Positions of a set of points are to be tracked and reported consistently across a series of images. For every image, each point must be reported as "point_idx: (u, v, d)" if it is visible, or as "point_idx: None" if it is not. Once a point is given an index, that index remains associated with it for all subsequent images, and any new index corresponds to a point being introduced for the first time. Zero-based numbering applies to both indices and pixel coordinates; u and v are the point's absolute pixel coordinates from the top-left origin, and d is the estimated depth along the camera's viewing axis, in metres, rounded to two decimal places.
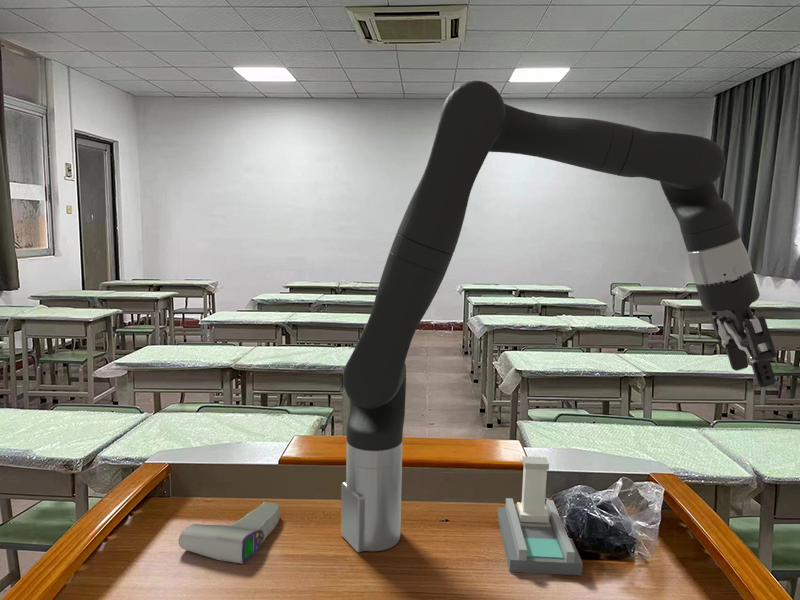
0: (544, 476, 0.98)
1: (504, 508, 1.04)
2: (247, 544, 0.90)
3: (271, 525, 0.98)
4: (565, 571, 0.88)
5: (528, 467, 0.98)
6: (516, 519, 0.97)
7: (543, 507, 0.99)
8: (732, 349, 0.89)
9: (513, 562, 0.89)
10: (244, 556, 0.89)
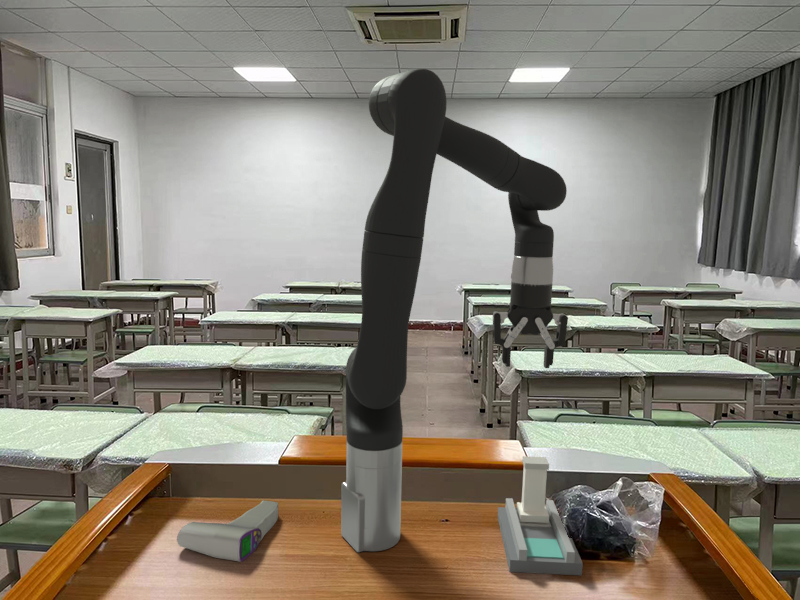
0: (544, 476, 0.98)
1: (504, 508, 1.04)
2: (245, 542, 0.91)
3: (269, 523, 0.99)
4: (565, 571, 0.88)
5: (528, 467, 0.98)
6: (516, 519, 0.97)
7: (543, 507, 0.99)
8: None
9: (513, 562, 0.89)
10: (241, 554, 0.90)
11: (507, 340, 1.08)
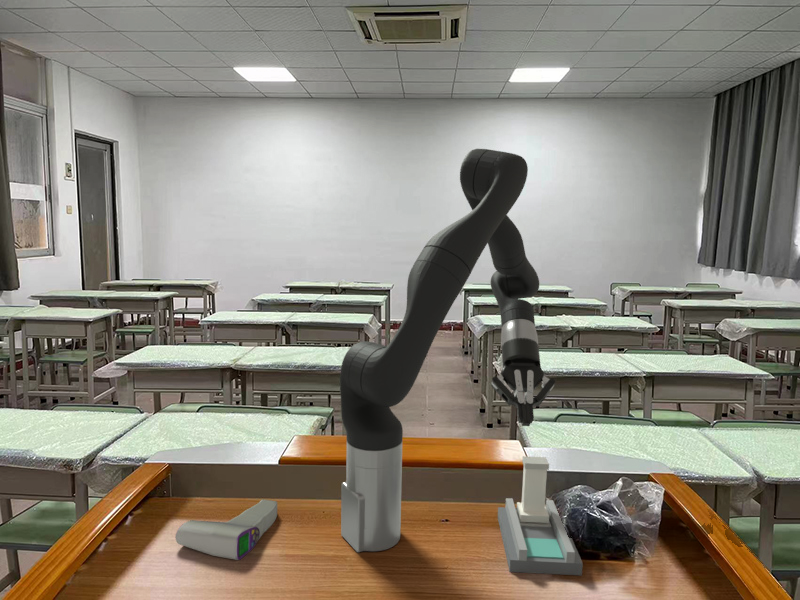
0: (544, 476, 0.98)
1: (504, 508, 1.04)
2: (242, 541, 0.91)
3: (267, 522, 0.99)
4: (565, 571, 0.88)
5: (528, 467, 0.98)
6: (516, 519, 0.97)
7: (543, 507, 0.99)
8: None
9: (513, 562, 0.89)
10: (239, 553, 0.90)
11: (518, 397, 1.11)
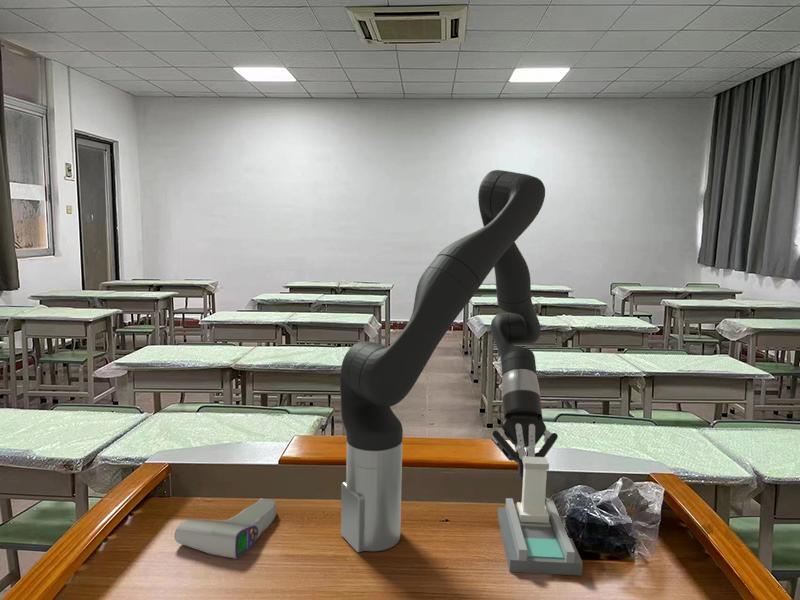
0: (544, 476, 0.98)
1: (504, 508, 1.04)
2: (241, 539, 0.91)
3: (266, 521, 0.99)
4: (565, 571, 0.88)
5: (528, 467, 0.98)
6: (516, 519, 0.97)
7: (543, 507, 0.99)
8: None
9: (513, 562, 0.89)
10: (237, 552, 0.91)
11: (519, 453, 1.08)
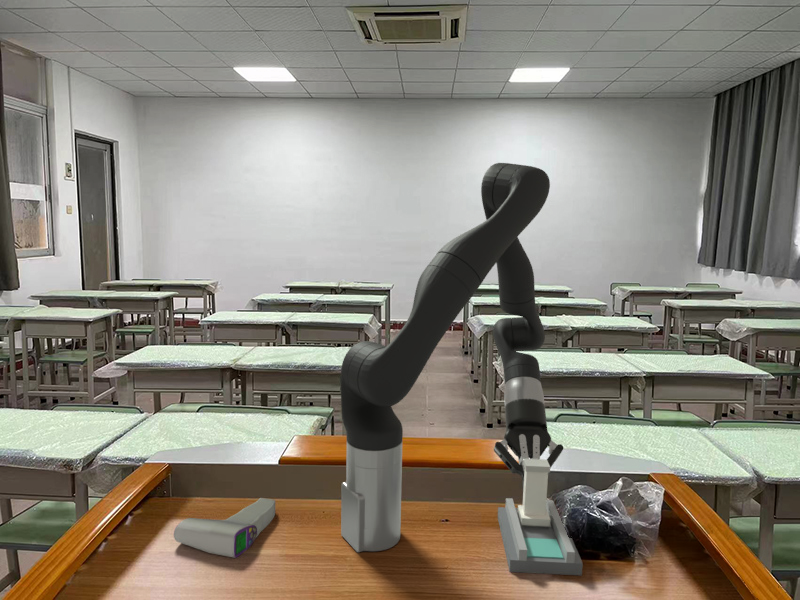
0: (545, 479, 0.97)
1: (504, 508, 1.04)
2: (240, 539, 0.92)
3: (265, 520, 1.00)
4: (565, 571, 0.88)
5: (529, 470, 0.97)
6: (516, 519, 0.97)
7: (544, 510, 0.98)
8: None
9: (513, 562, 0.89)
10: (236, 551, 0.91)
11: (523, 465, 1.03)
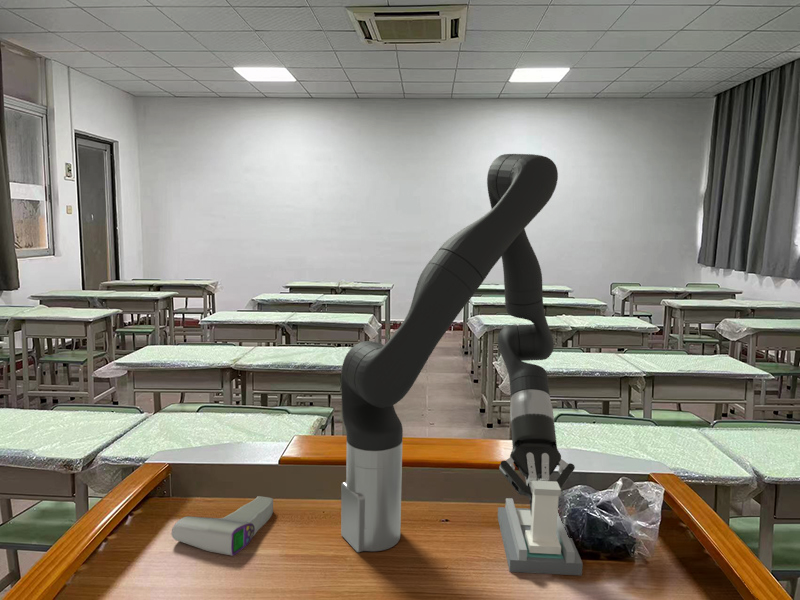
0: (555, 503, 0.89)
1: (504, 508, 1.04)
2: (237, 537, 0.92)
3: (263, 518, 1.00)
4: (565, 571, 0.88)
5: (538, 493, 0.89)
6: (516, 519, 0.97)
7: (554, 537, 0.90)
8: None
9: (513, 562, 0.89)
10: (234, 549, 0.92)
11: None
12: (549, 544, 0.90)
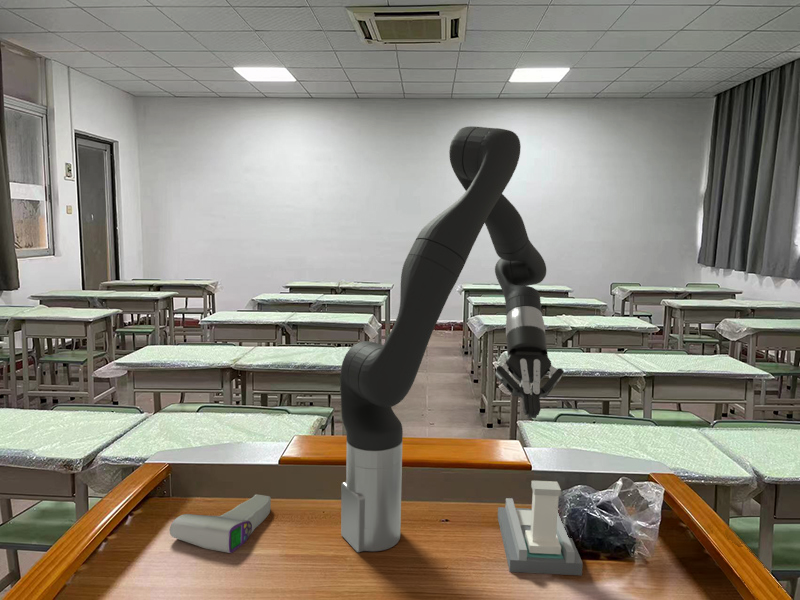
0: (555, 503, 0.89)
1: (504, 508, 1.04)
2: (234, 534, 0.93)
3: (260, 516, 1.01)
4: (565, 571, 0.88)
5: (538, 493, 0.89)
6: (516, 519, 0.97)
7: (554, 537, 0.90)
8: None
9: (513, 562, 0.89)
10: (231, 546, 0.92)
11: (524, 387, 1.05)
12: (549, 544, 0.90)
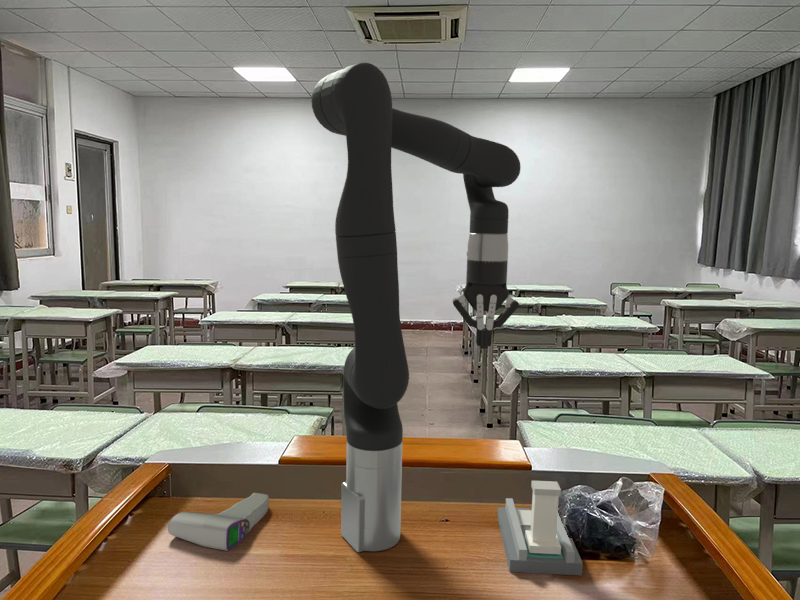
0: (555, 503, 0.89)
1: (504, 508, 1.04)
2: (232, 532, 0.93)
3: (258, 515, 1.01)
4: (565, 571, 0.88)
5: (538, 493, 0.89)
6: (516, 519, 0.97)
7: (554, 537, 0.90)
8: (484, 331, 1.09)
9: (513, 562, 0.89)
10: (228, 544, 0.93)
11: (478, 323, 1.08)
12: (549, 544, 0.90)
